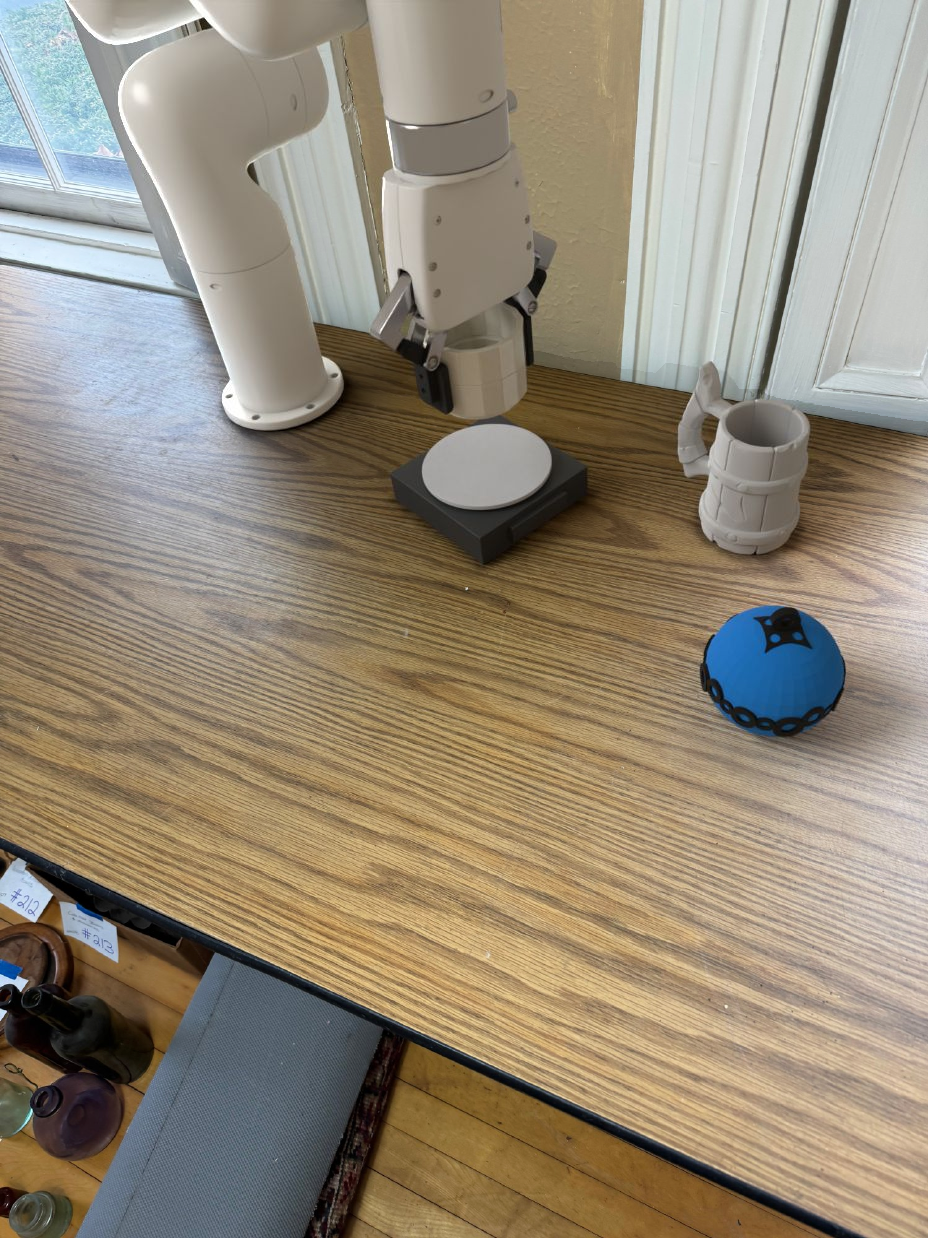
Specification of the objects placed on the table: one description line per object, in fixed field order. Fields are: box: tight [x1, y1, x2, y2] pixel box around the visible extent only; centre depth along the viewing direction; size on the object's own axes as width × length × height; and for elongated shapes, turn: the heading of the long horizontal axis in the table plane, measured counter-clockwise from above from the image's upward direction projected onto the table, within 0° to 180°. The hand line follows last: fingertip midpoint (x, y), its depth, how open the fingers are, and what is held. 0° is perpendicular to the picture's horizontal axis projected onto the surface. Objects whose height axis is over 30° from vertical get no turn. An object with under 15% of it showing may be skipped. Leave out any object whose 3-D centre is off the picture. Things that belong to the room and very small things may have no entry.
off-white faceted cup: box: [423, 302, 529, 421], centre depth 65 cm, size 7×7×6 cm
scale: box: [389, 414, 589, 566], centre depth 73 cm, size 12×12×4 cm
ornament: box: [699, 604, 847, 738], centre depth 54 cm, size 9×9×10 cm
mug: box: [677, 360, 811, 555], centre depth 66 cm, size 8×12×12 cm, turn 34°
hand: (478, 381), depth 66 cm, fingers closed on off-white faceted cup, 7 cm apart
